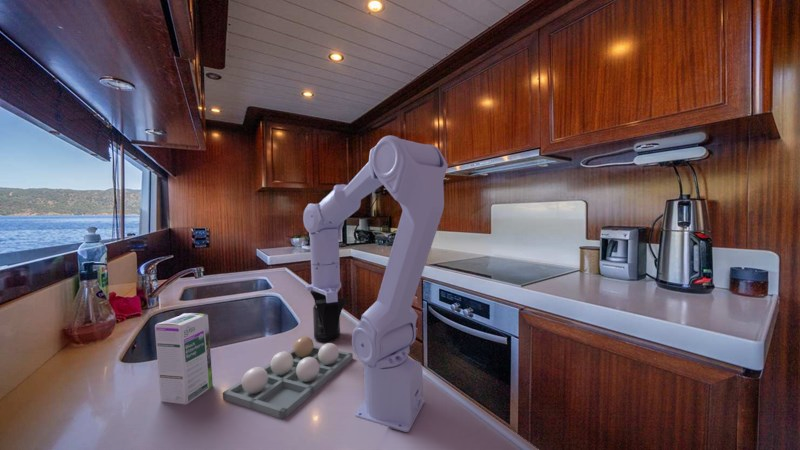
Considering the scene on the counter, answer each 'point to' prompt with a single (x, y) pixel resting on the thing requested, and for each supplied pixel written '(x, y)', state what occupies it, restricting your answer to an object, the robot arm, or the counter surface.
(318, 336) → the supplement bottle
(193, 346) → the syrup box
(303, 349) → the brown egg
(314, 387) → the egg carton
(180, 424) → the counter surface
